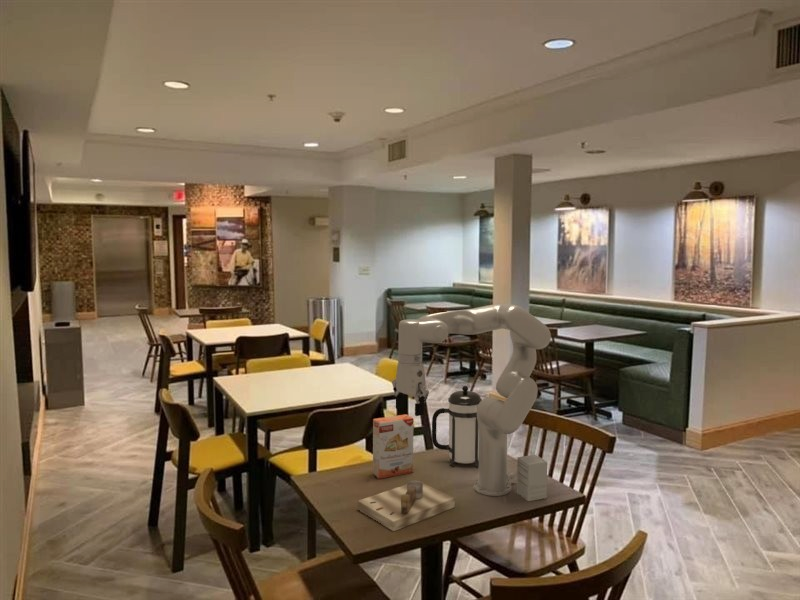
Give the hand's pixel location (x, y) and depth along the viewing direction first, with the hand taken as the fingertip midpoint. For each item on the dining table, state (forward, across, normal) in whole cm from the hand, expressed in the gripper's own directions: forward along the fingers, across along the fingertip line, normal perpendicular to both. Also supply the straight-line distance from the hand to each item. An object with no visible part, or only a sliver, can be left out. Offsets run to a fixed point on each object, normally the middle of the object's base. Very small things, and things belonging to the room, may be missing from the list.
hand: (409, 411), depth 188 cm
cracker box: (+31, +23, -11) cm, 40 cm away
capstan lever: (+27, -6, +4) cm, 28 cm away
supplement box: (+30, -20, -36) cm, 52 cm away
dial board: (+31, -2, +3) cm, 31 cm away
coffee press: (+30, +16, -39) cm, 51 cm away
